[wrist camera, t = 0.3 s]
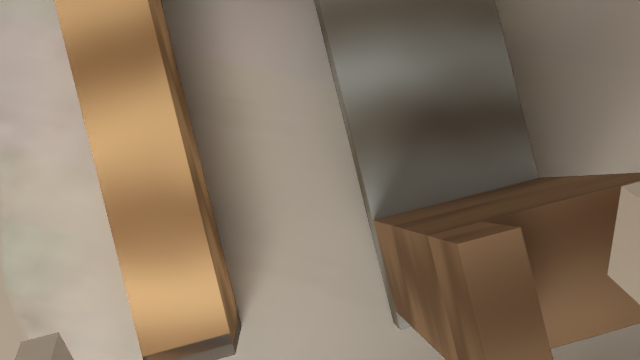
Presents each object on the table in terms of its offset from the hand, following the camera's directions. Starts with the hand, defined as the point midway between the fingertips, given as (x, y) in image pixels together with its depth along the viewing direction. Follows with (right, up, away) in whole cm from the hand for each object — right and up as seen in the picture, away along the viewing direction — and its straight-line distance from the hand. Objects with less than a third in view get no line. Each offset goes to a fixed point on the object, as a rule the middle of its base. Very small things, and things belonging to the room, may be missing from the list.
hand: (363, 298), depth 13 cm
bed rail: (-11, +8, +17) cm, 21 cm away
